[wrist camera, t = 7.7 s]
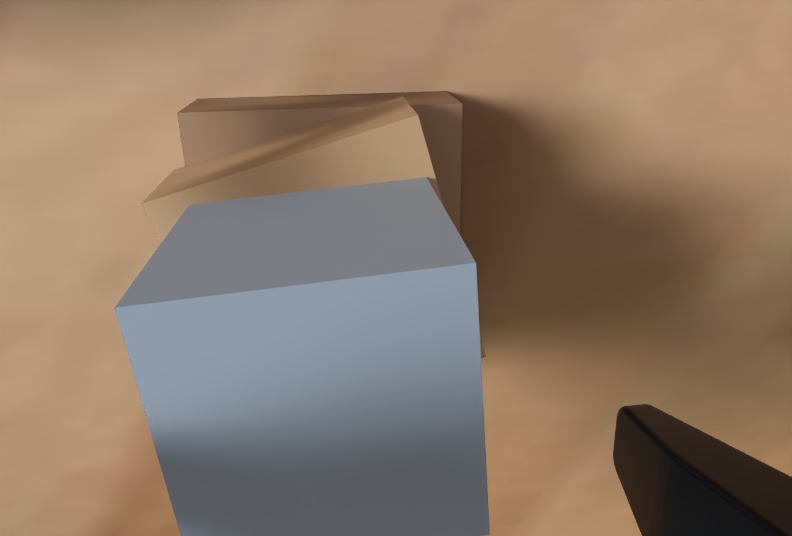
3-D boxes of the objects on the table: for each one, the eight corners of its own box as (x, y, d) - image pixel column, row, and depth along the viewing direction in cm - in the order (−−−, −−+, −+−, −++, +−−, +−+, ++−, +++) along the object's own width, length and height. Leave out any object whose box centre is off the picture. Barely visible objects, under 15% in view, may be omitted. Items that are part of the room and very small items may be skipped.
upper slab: (402, 96, 16) (418, 114, 13) (462, 303, 18) (486, 356, 15) (174, 170, 16) (141, 204, 13) (261, 366, 18) (249, 430, 16)
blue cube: (426, 177, 14) (475, 262, 9) (441, 378, 15) (490, 534, 11) (189, 205, 13) (114, 308, 9) (234, 405, 15) (193, 577, 11)
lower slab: (443, 89, 19) (462, 103, 16) (441, 304, 21) (457, 348, 19) (200, 96, 18) (177, 112, 15) (229, 316, 21) (213, 363, 18)
